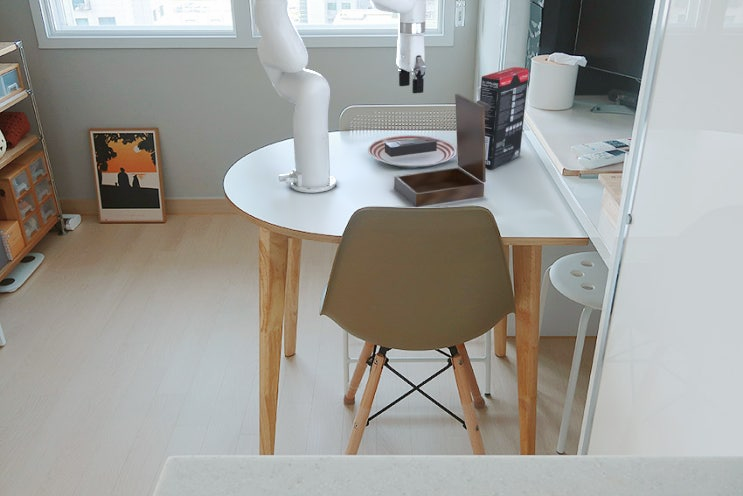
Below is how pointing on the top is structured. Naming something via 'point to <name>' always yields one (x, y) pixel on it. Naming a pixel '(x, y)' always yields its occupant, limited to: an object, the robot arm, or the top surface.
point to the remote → (410, 146)
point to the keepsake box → (438, 186)
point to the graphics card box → (504, 114)
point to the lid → (471, 136)
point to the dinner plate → (413, 160)
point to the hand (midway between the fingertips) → (410, 89)
